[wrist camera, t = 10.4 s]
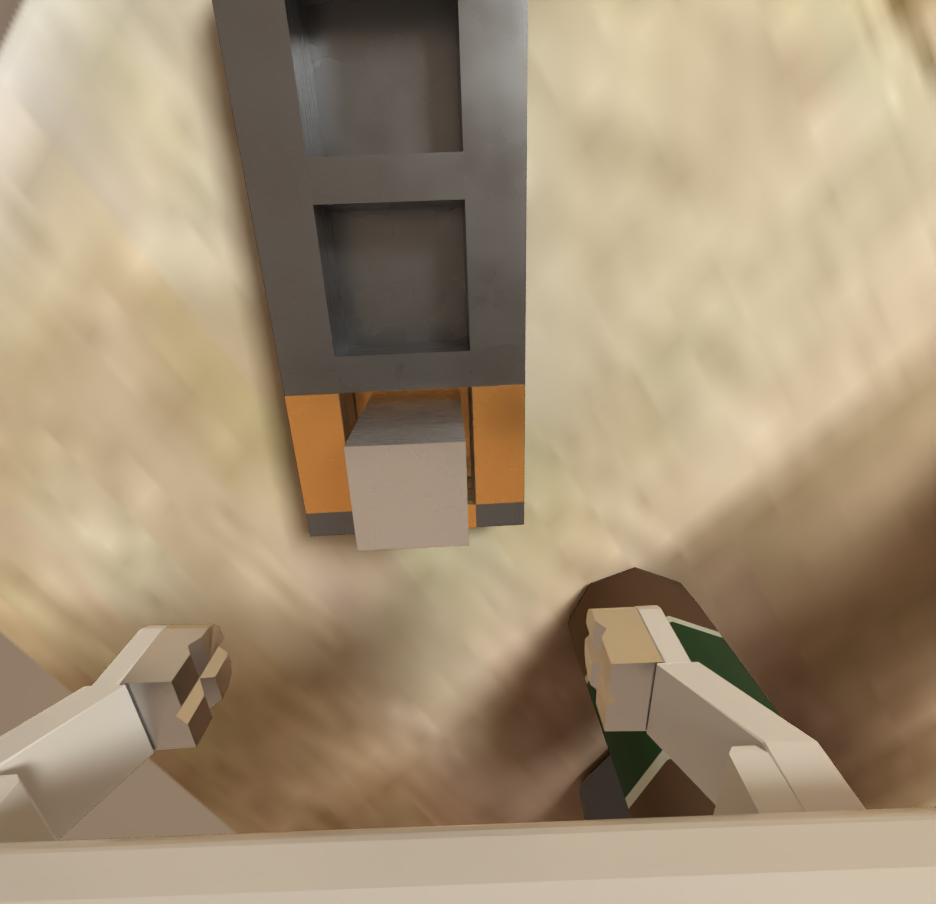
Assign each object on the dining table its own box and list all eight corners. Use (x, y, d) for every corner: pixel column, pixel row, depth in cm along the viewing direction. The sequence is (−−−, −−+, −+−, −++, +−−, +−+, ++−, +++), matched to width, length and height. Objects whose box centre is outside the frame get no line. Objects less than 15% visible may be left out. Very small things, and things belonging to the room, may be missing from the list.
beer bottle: (569, 564, 28) (1050, 1738, 6) (701, 561, 28) (1632, 1659, 6) (560, 667, 31) (857, 1713, 9) (679, 663, 31) (1260, 1660, 9)
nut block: (459, 390, 23) (465, 441, 17) (462, 470, 25) (468, 545, 18) (371, 394, 23) (343, 446, 17) (380, 473, 25) (357, 550, 18)
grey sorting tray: (513, -43, 18) (529, -112, 15) (514, 491, 26) (524, 525, 23) (239, -37, 18) (191, -107, 14) (327, 501, 26) (309, 537, 22)
